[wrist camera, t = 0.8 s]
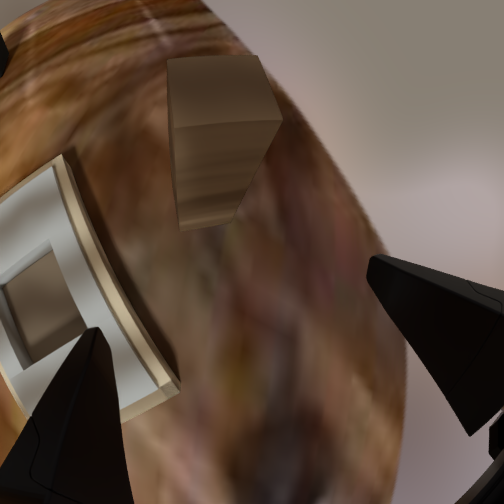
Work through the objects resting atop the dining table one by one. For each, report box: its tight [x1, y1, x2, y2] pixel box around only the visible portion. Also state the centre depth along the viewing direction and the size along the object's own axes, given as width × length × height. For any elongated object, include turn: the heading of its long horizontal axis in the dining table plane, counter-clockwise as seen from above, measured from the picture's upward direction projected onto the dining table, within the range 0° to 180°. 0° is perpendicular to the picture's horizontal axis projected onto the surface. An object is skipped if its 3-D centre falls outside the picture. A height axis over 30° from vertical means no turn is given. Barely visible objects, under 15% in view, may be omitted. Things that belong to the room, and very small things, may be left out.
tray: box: [0, 154, 181, 423], centre depth 16 cm, size 20×13×3 cm, turn 32°
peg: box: [167, 55, 283, 232], centre depth 16 cm, size 4×4×13 cm
